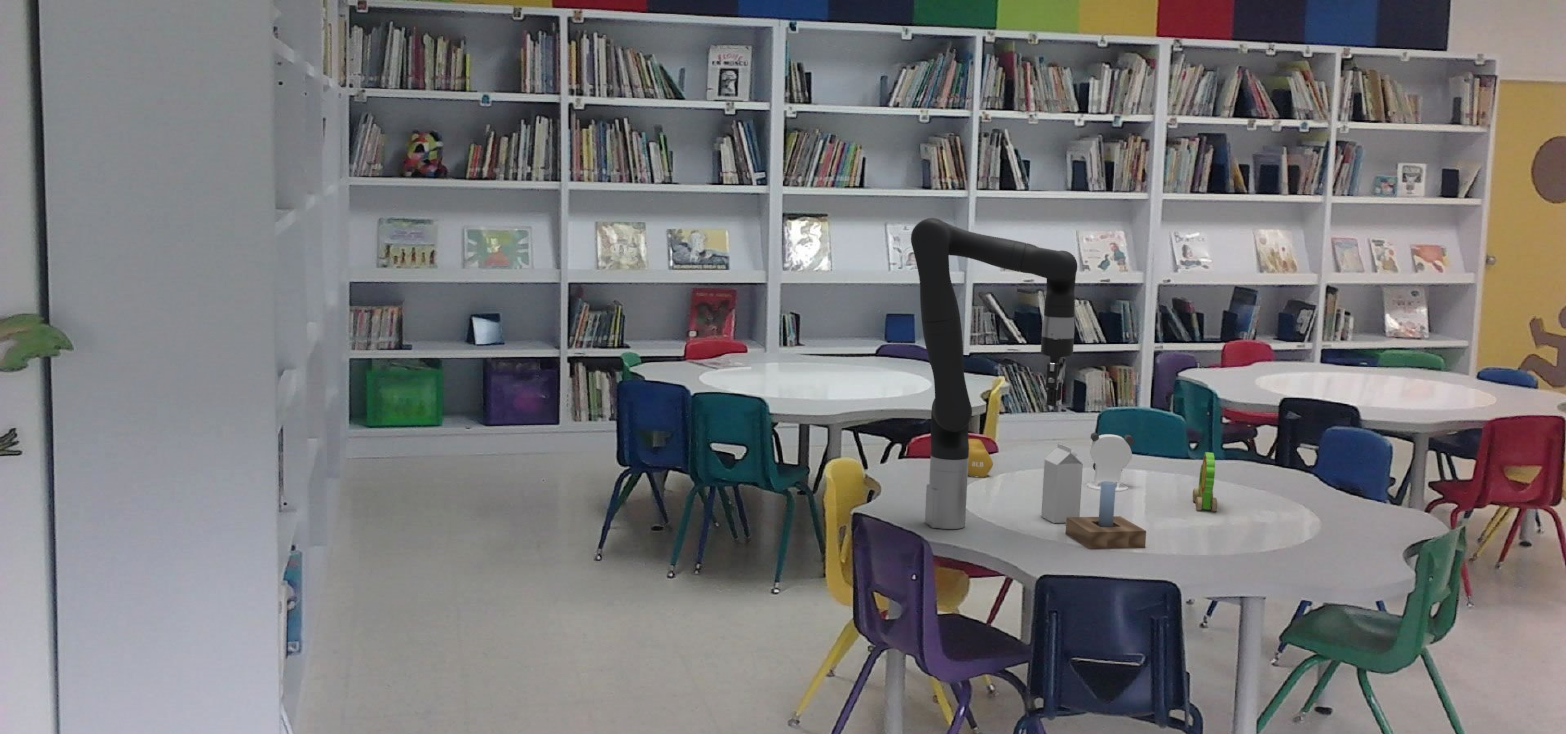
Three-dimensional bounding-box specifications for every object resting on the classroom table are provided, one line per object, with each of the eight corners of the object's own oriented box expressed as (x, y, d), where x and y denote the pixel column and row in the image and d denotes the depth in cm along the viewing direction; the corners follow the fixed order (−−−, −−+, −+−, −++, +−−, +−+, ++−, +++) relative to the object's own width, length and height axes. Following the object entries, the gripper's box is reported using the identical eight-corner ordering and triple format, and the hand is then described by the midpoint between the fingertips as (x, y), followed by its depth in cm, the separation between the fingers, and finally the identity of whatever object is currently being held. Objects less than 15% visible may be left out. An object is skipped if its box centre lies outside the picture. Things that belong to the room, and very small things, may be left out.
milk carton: (1053, 523, 342) (1058, 449, 340) (1040, 516, 349) (1045, 443, 346) (1079, 522, 344) (1084, 448, 342) (1066, 515, 351) (1070, 442, 348)
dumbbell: (955, 464, 412) (957, 437, 411) (986, 465, 412) (987, 438, 410) (961, 477, 393) (962, 449, 392) (992, 479, 393) (994, 451, 392)
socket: (1089, 548, 320) (1090, 532, 319) (1065, 533, 333) (1066, 517, 333) (1145, 547, 322) (1146, 530, 322) (1119, 532, 336) (1120, 516, 335)
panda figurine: (1127, 483, 391) (1130, 432, 389) (1133, 492, 380) (1136, 439, 378) (1084, 481, 393) (1087, 430, 390) (1089, 490, 381) (1092, 437, 379)
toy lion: (1191, 500, 374) (1195, 445, 371) (1212, 501, 372) (1216, 446, 370) (1196, 513, 358) (1200, 456, 356) (1218, 515, 357) (1222, 457, 355)
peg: (1100, 542, 326) (1104, 484, 324) (1095, 538, 329) (1098, 481, 327) (1114, 542, 326) (1118, 484, 325) (1108, 538, 330) (1112, 481, 328)
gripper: (1046, 331, 334) (1042, 397, 336) (1037, 337, 320) (1033, 406, 322) (1077, 333, 331) (1073, 400, 333) (1070, 339, 318) (1065, 408, 320)
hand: (1053, 402), depth 328 cm, fingers open, 8 cm apart
